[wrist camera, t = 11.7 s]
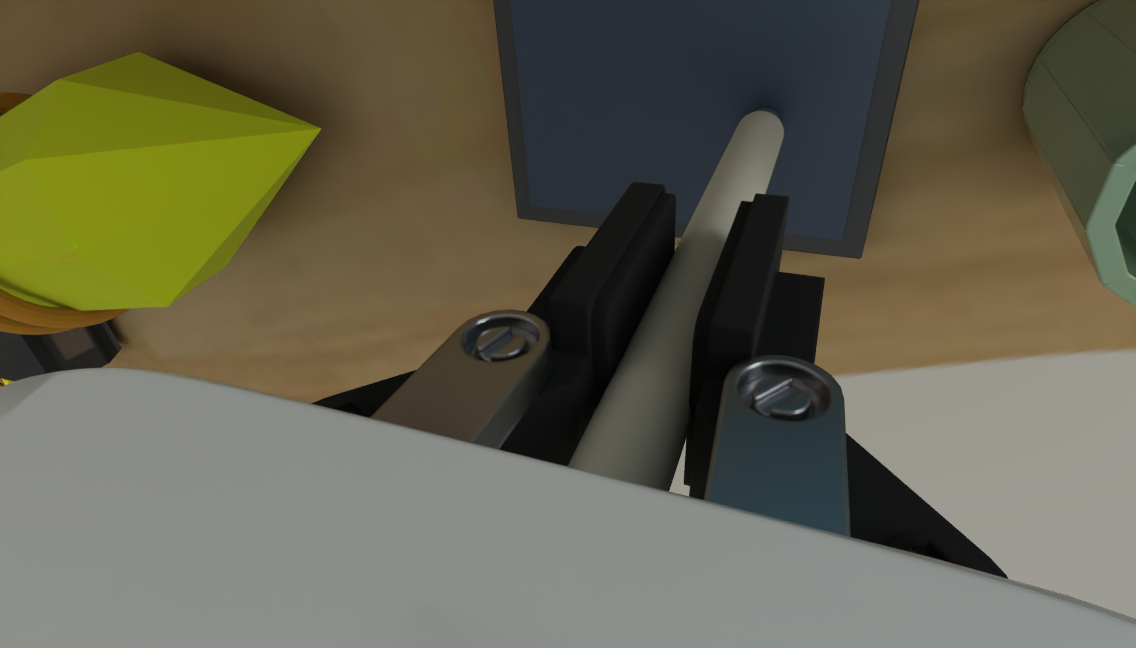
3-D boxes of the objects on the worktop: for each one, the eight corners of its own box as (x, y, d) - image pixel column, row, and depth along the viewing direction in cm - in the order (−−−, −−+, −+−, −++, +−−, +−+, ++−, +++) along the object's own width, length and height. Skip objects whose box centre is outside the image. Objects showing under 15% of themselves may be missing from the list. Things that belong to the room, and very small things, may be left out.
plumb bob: (294, -72, 21) (-126, 126, 30) (114, 54, 15) (-344, 255, 24) (434, 166, 27) (46, 272, 36) (347, 329, 21) (-95, 405, 30)
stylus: (740, 141, 18) (551, 546, 8) (744, 97, 18) (543, 475, 7) (785, 144, 18) (651, 574, 7) (791, 99, 17) (652, 503, 7)
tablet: (526, 209, 23) (516, 220, 23) (500, -50, 19) (485, -46, 18) (861, 246, 20) (860, 261, 19) (930, -60, 15) (932, -56, 15)
